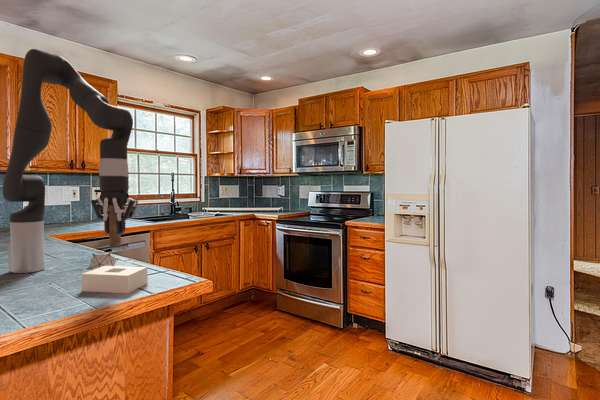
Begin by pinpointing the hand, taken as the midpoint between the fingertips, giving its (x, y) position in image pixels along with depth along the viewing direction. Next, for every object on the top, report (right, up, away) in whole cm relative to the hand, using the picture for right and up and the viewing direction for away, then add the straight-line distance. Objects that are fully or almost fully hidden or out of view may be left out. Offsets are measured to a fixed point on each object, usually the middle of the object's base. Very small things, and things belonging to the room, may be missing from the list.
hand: (115, 233), depth 102 cm
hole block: (0, -16, +1) cm, 16 cm away
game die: (-11, -16, +13) cm, 23 cm away
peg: (0, -4, 0) cm, 4 cm away
